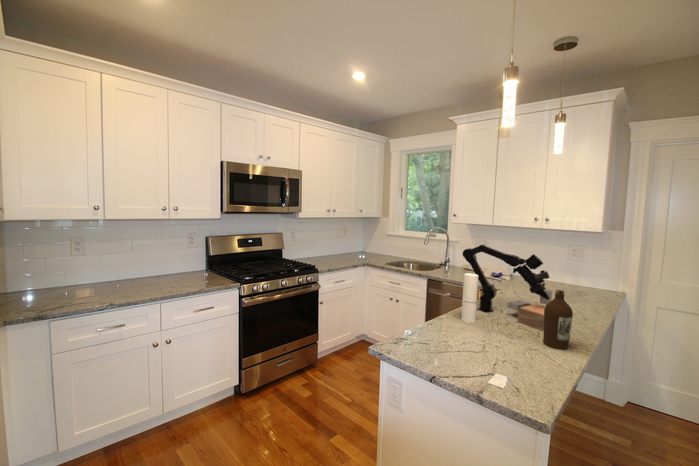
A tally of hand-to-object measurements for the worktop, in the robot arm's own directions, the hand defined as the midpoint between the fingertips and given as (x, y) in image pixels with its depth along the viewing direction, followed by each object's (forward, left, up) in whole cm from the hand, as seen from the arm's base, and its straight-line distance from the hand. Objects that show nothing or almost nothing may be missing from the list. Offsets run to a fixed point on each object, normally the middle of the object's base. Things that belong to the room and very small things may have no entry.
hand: (549, 297), depth 171 cm
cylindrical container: (-38, +20, -14) cm, 45 cm away
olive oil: (-27, -19, -14) cm, 36 cm away
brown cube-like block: (+6, +15, -14) cm, 21 cm away
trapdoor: (-6, +4, -9) cm, 11 cm away
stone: (-1, +1, -3) cm, 3 cm away
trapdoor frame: (-6, 0, -14) cm, 15 cm away
